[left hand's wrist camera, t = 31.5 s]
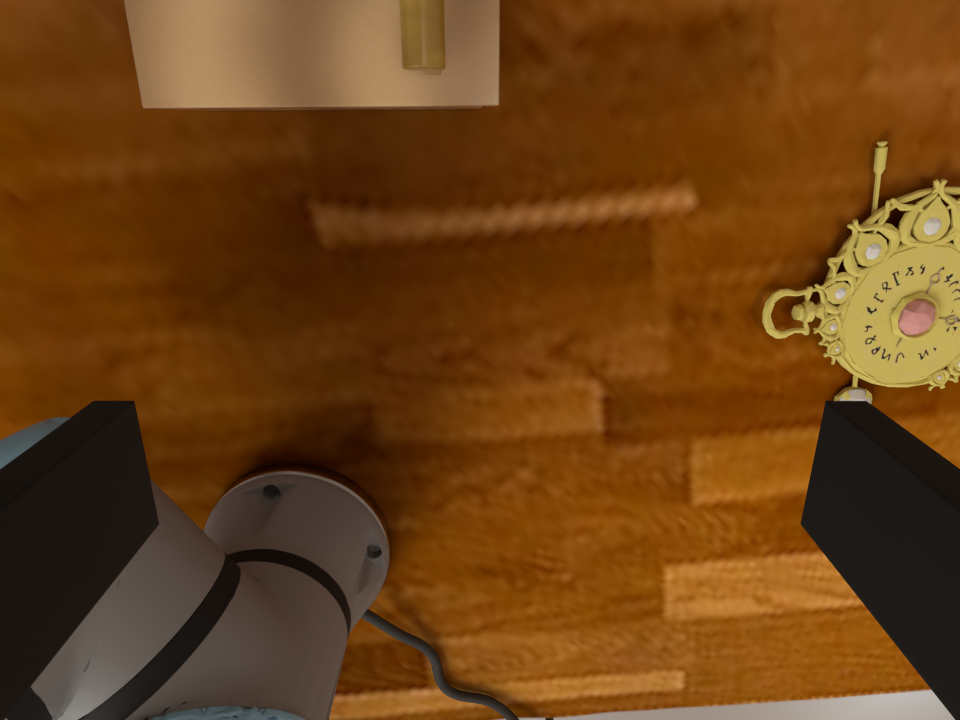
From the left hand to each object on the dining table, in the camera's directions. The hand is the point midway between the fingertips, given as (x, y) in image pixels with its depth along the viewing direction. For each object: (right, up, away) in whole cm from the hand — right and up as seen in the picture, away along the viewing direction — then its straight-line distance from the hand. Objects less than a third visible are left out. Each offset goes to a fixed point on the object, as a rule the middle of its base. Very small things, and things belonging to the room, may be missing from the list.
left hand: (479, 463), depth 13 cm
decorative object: (+30, +7, +35) cm, 46 cm away
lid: (-8, +20, +20) cm, 29 cm away
